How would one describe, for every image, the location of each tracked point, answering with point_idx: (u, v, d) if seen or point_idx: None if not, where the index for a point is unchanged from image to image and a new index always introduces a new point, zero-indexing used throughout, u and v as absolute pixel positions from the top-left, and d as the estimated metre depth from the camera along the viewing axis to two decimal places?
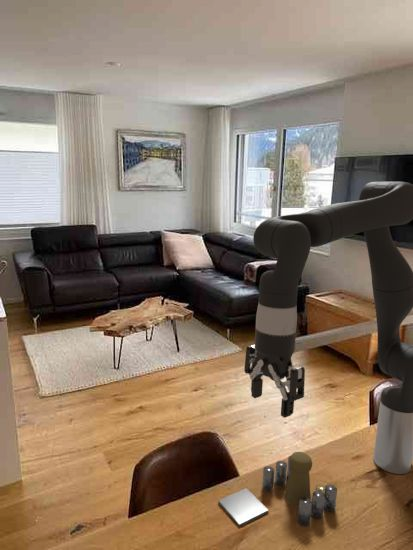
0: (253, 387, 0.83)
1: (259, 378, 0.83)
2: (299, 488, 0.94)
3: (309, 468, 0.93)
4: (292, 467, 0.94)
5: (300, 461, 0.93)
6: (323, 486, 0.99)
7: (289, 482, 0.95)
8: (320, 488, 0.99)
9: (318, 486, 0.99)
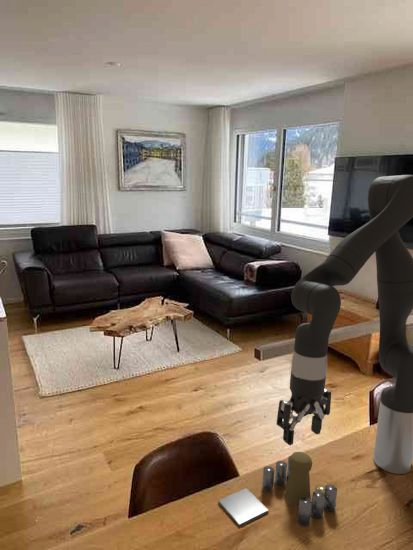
0: (293, 435, 0.90)
1: None
2: (299, 488, 0.94)
3: (309, 468, 0.93)
4: (292, 467, 0.94)
5: (300, 461, 0.93)
6: (323, 486, 0.99)
7: (289, 482, 0.95)
8: (320, 488, 0.99)
9: (318, 486, 0.99)
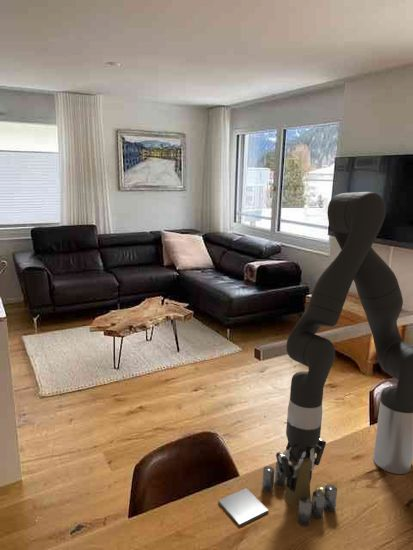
0: (295, 482, 0.94)
1: None
2: (299, 488, 0.94)
3: (309, 468, 0.93)
4: (292, 467, 0.94)
5: None
6: (323, 486, 0.99)
7: None
8: (320, 488, 0.99)
9: (318, 486, 0.99)
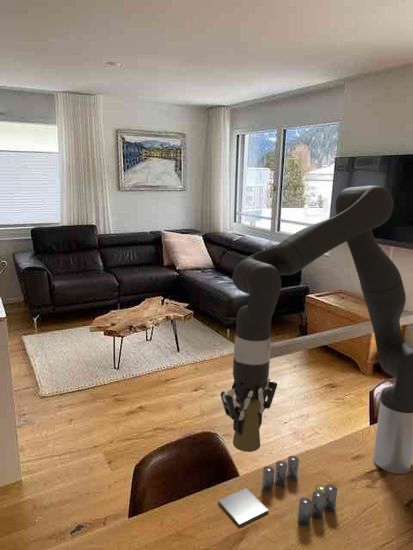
0: (243, 425, 0.87)
1: None
2: (246, 431, 0.87)
3: (257, 409, 0.86)
4: (239, 408, 0.87)
5: None
6: (323, 486, 0.99)
7: None
8: (320, 488, 0.99)
9: (318, 486, 0.99)
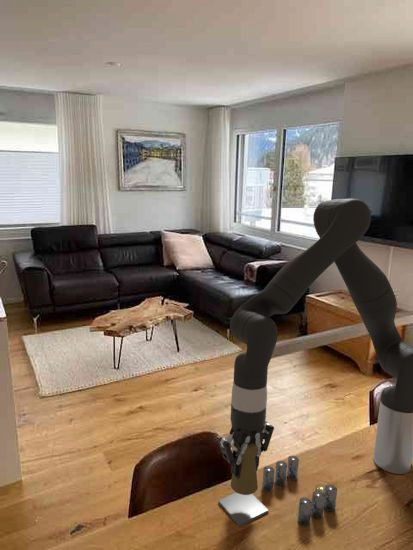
0: (240, 469, 0.89)
1: None
2: (243, 474, 0.89)
3: (254, 454, 0.88)
4: (236, 453, 0.89)
5: None
6: (323, 486, 0.99)
7: None
8: (320, 488, 0.99)
9: (318, 486, 0.99)
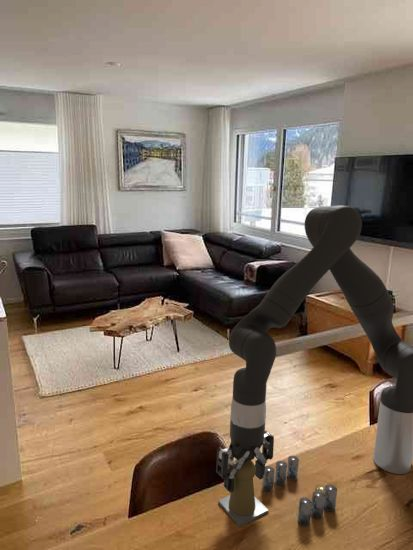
0: (233, 483, 0.89)
1: None
2: (241, 495, 0.90)
3: (251, 475, 0.89)
4: None
5: (242, 468, 0.89)
6: (323, 486, 0.99)
7: None
8: (320, 488, 0.99)
9: (318, 486, 0.99)
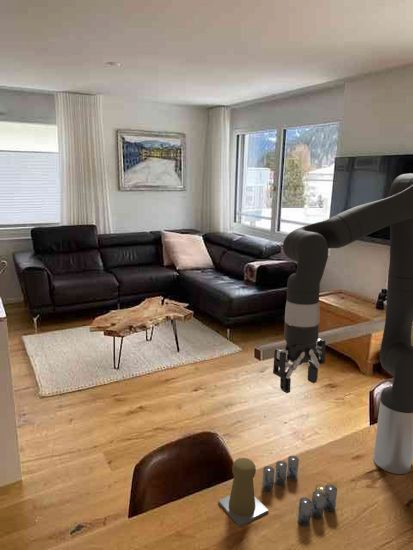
0: (289, 383, 0.92)
1: None
2: (241, 495, 0.90)
3: (251, 475, 0.89)
4: (234, 474, 0.90)
5: (242, 468, 0.89)
6: (323, 486, 0.99)
7: (232, 489, 0.92)
8: (320, 488, 0.99)
9: (318, 486, 0.99)
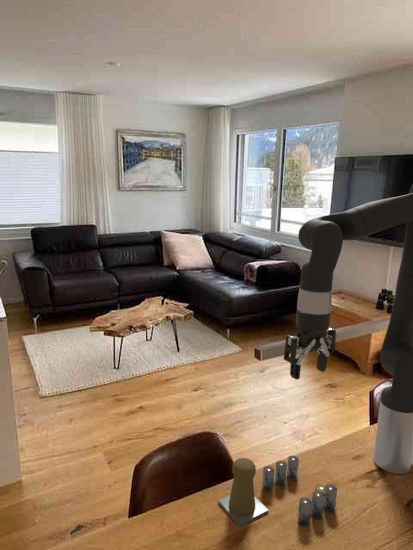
0: (299, 370, 0.94)
1: None
2: (241, 495, 0.90)
3: (251, 475, 0.89)
4: (234, 474, 0.90)
5: (242, 468, 0.89)
6: (323, 486, 0.99)
7: (232, 489, 0.92)
8: (320, 488, 0.99)
9: (318, 486, 0.99)
